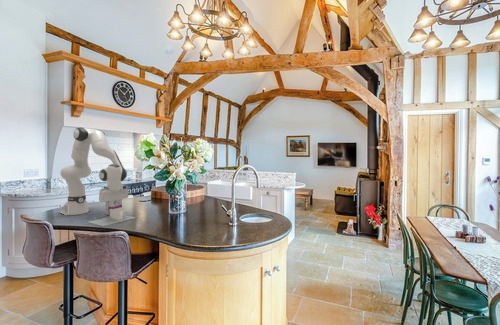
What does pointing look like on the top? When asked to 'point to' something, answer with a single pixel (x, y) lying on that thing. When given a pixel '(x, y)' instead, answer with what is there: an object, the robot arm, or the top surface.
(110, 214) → the fixed fence
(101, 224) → the mat
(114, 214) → the panel
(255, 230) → the top surface
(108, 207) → the candy bar box
